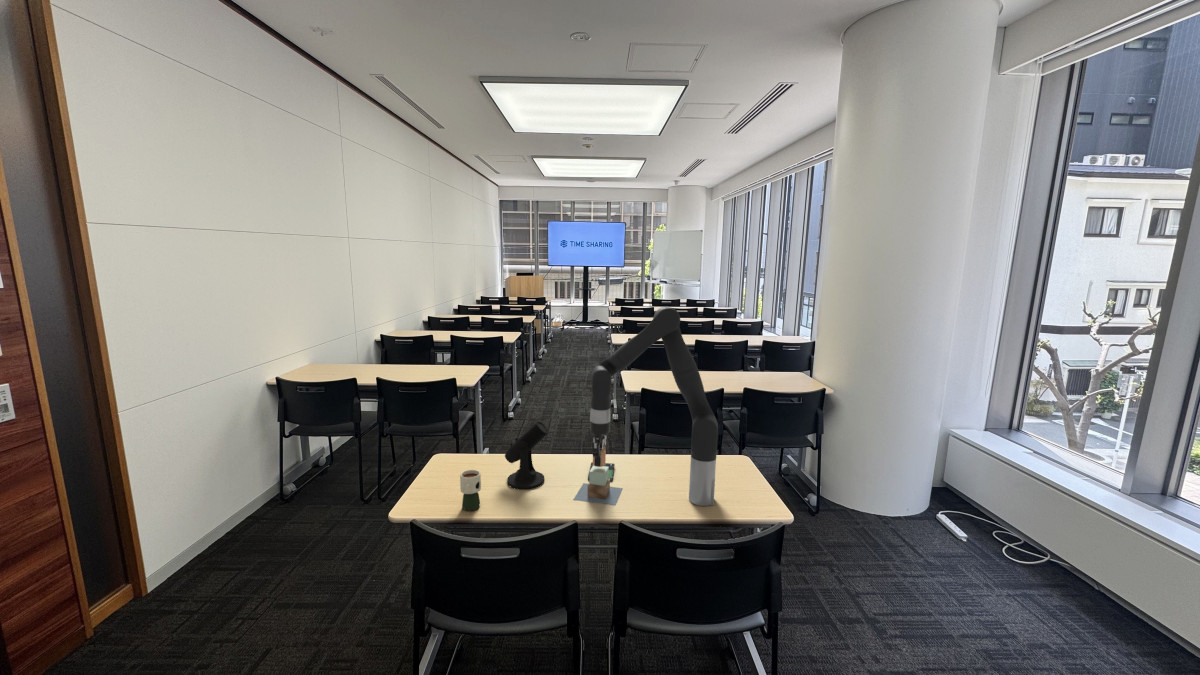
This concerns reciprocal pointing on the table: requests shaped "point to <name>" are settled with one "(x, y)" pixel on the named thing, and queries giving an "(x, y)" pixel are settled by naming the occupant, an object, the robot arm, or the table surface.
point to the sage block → (598, 475)
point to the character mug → (470, 489)
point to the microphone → (526, 458)
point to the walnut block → (599, 490)
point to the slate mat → (610, 499)
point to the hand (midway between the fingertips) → (599, 462)
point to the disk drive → (611, 470)
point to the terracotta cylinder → (603, 458)
